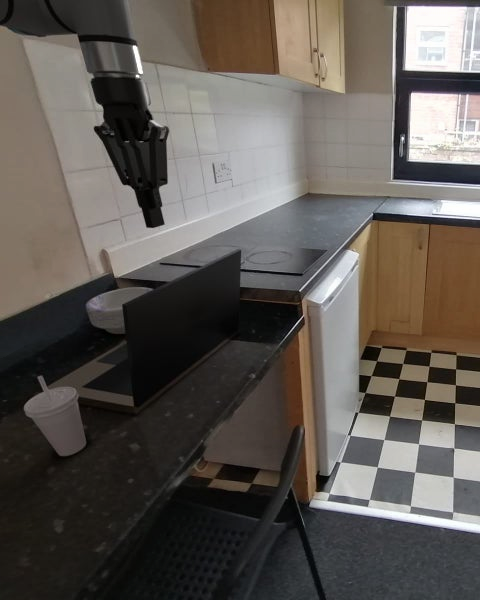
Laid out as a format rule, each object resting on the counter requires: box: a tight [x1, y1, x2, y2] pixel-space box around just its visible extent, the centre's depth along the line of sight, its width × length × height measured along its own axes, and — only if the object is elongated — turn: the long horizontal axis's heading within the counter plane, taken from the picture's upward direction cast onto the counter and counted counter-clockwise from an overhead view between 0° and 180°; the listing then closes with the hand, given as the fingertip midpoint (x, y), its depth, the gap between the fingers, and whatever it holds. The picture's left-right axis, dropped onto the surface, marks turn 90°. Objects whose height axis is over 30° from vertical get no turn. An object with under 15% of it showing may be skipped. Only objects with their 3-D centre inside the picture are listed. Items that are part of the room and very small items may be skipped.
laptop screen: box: [122, 248, 242, 408], centre depth 80 cm, size 21×30×1 cm
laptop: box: [41, 331, 237, 415], centre depth 87 cm, size 21×30×2 cm
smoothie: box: [23, 375, 87, 457], centre depth 62 cm, size 6×6×14 cm
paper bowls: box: [85, 286, 154, 335], centre depth 102 cm, size 15×15×8 cm
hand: (155, 225), depth 73 cm, fingers closed
